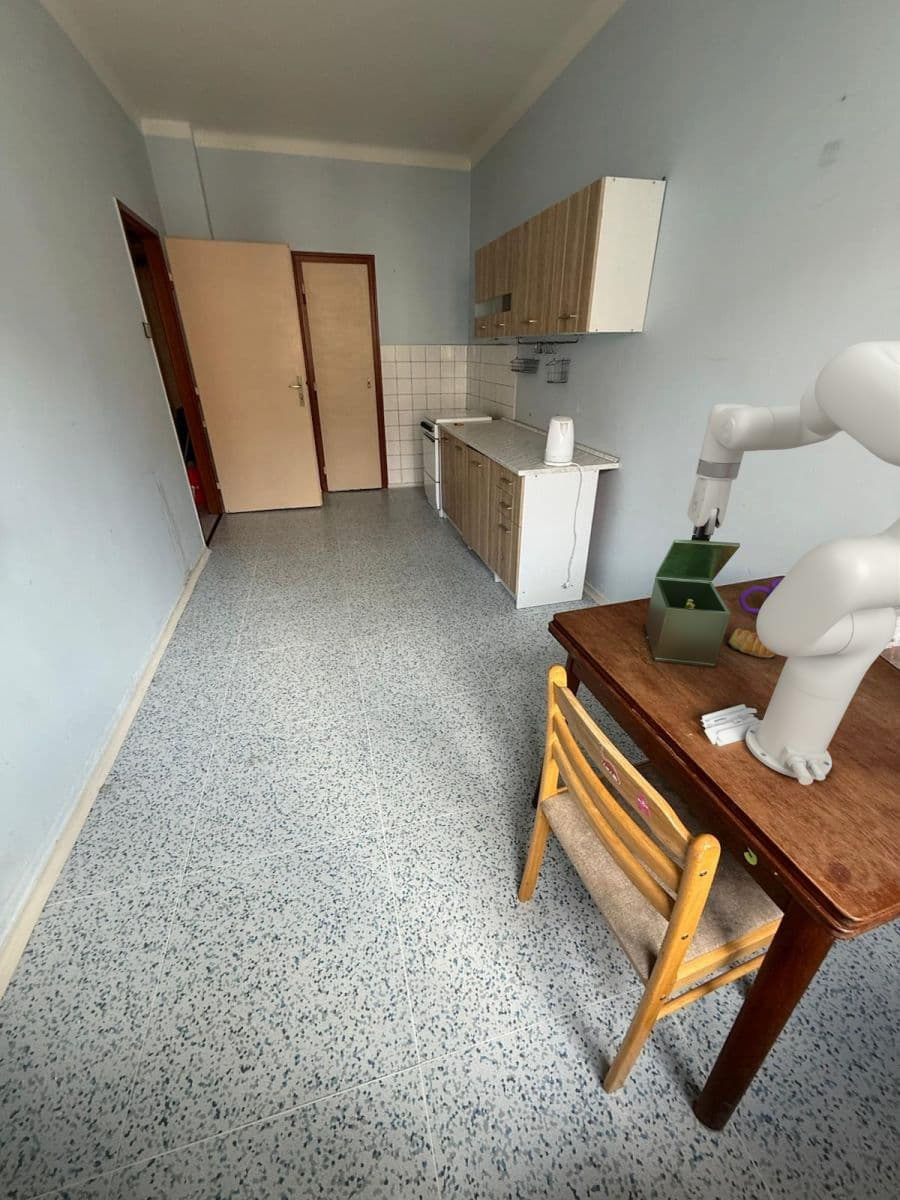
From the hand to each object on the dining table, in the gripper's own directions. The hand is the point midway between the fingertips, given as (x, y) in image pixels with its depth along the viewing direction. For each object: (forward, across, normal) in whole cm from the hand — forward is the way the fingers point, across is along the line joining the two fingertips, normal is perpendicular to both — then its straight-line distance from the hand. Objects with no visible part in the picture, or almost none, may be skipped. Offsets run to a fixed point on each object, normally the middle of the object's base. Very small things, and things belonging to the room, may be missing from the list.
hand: (697, 553), depth 104 cm
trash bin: (+23, +2, 0) cm, 23 cm away
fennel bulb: (+22, +5, 0) cm, 23 cm away
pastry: (+23, 0, +16) cm, 28 cm away
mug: (+23, -15, +26) cm, 38 cm away
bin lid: (+2, 0, 0) cm, 2 cm away
